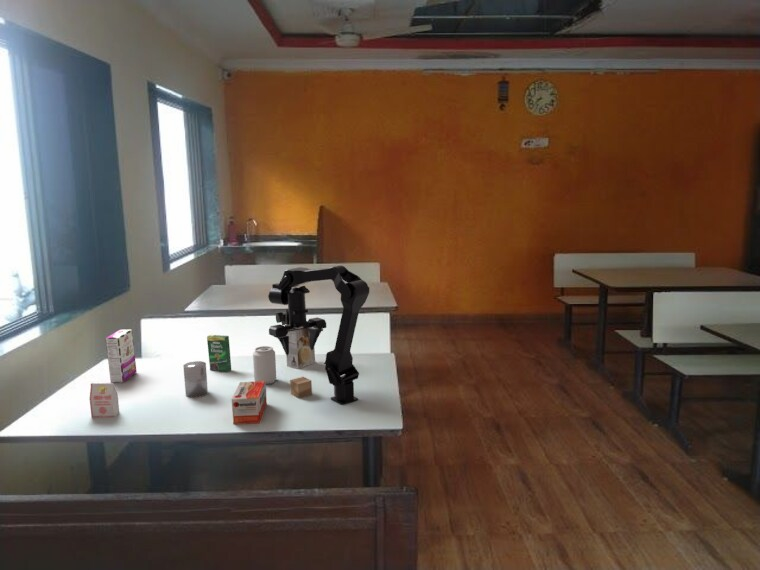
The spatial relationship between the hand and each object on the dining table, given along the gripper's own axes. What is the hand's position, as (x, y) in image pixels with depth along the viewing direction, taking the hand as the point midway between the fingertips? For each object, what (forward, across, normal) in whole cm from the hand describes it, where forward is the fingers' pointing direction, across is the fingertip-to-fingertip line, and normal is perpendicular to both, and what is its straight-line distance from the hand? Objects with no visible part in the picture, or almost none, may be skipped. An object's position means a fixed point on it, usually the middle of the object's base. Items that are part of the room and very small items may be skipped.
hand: (299, 352), depth 199 cm
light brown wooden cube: (+13, +3, +5) cm, 14 cm away
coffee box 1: (+12, +14, -36) cm, 40 cm away
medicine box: (+13, +23, +10) cm, 28 cm away
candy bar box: (+11, +45, -50) cm, 68 cm away
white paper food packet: (+12, +58, -17) cm, 61 cm away
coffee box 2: (+12, -12, -22) cm, 28 cm away
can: (+12, +7, -14) cm, 20 cm away
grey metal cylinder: (+12, +30, -17) cm, 36 cm away
